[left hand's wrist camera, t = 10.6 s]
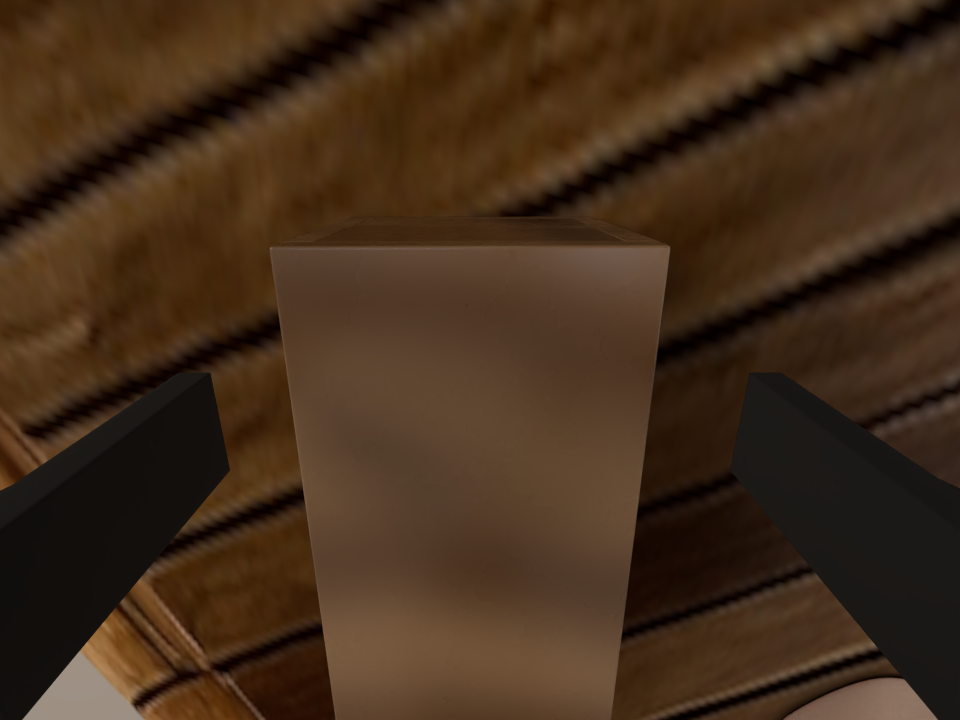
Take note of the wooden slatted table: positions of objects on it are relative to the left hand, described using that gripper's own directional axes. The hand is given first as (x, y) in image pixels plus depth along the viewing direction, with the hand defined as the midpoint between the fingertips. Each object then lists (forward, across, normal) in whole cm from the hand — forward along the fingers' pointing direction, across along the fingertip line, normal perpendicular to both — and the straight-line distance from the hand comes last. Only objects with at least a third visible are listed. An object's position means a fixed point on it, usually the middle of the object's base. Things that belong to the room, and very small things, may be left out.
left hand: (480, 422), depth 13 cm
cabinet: (+11, 0, -7) cm, 13 cm away
